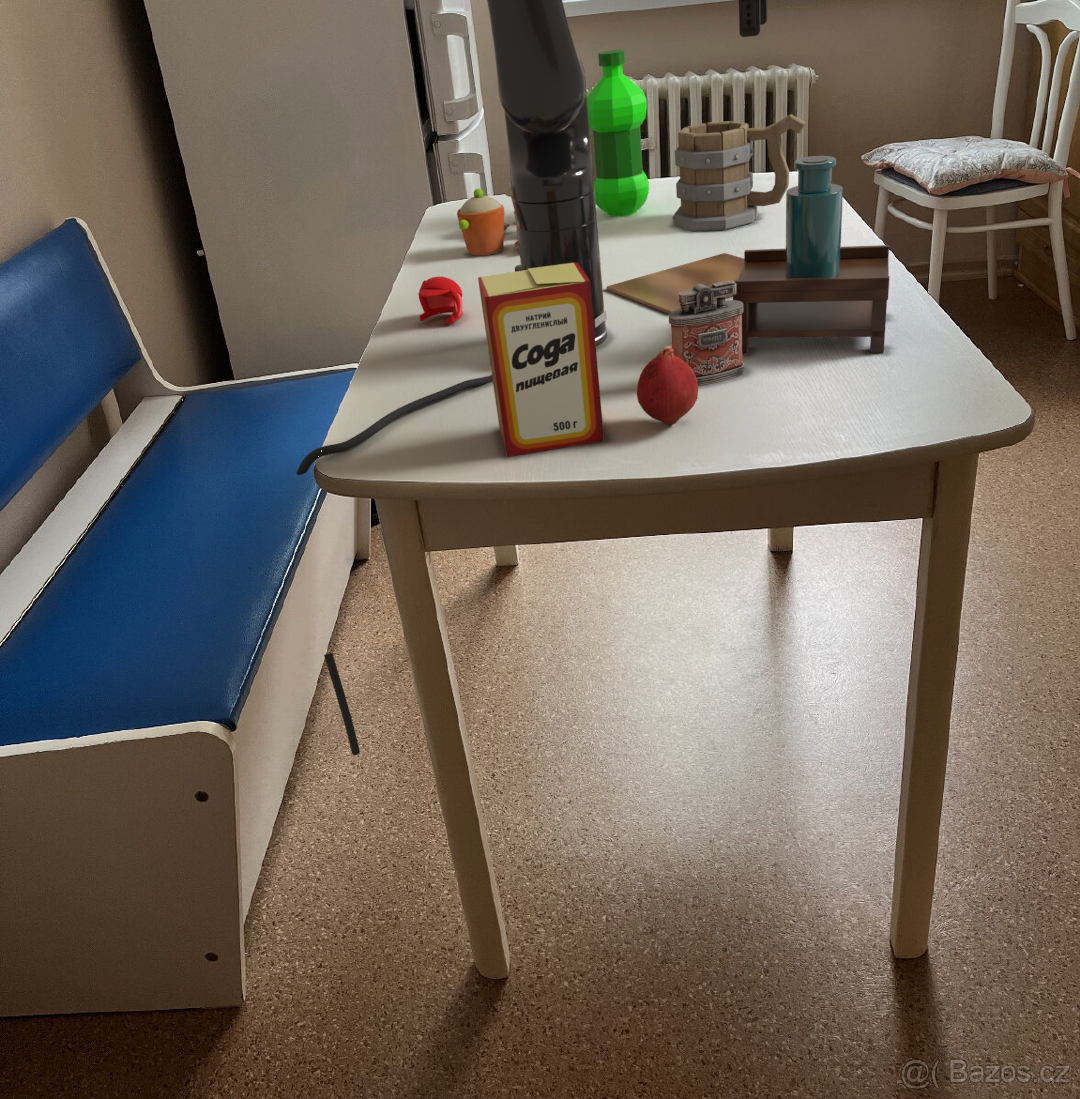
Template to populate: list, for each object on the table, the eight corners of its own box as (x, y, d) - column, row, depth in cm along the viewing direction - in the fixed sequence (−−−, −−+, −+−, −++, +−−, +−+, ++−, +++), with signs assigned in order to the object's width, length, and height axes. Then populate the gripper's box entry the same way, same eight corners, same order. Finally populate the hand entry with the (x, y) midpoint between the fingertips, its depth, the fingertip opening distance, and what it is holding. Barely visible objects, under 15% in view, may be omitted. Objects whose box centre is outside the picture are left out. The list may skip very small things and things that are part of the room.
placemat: (670, 315, 128) (670, 311, 128) (606, 289, 140) (606, 286, 140) (795, 277, 136) (795, 273, 135) (724, 256, 147) (724, 252, 147)
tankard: (668, 232, 162) (664, 131, 154) (683, 211, 172) (679, 115, 164) (799, 228, 156) (801, 122, 148) (806, 207, 166) (808, 107, 158)
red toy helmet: (425, 313, 140) (417, 269, 137) (468, 309, 139) (461, 265, 136) (416, 333, 133) (408, 287, 130) (461, 329, 133) (454, 283, 129)
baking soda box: (507, 456, 99) (484, 293, 90) (499, 429, 104) (477, 273, 96) (604, 440, 99) (589, 277, 91) (591, 414, 105) (577, 258, 97)
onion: (651, 442, 98) (646, 362, 94) (631, 420, 103) (625, 343, 99) (708, 429, 99) (706, 350, 95) (685, 408, 104) (682, 331, 100)
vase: (810, 285, 110) (812, 168, 104) (774, 274, 115) (775, 161, 109) (851, 272, 112) (856, 157, 106) (814, 262, 117) (817, 151, 111)
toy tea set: (561, 252, 159) (555, 187, 154) (461, 264, 159) (452, 200, 154) (553, 213, 181) (547, 155, 176) (466, 223, 182) (457, 166, 177)
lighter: (679, 390, 108) (675, 297, 103) (666, 379, 110) (662, 288, 105) (749, 374, 109) (749, 281, 104) (735, 364, 112) (734, 273, 107)
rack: (733, 354, 115) (732, 281, 111) (745, 317, 124) (744, 249, 120) (884, 353, 110) (889, 277, 106) (884, 315, 120) (889, 244, 116)
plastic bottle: (586, 211, 180) (572, 54, 167) (644, 202, 181) (635, 45, 168) (599, 224, 171) (585, 59, 158) (660, 214, 172) (652, 49, 159)
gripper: (724, -136, 115) (728, 25, 124) (706, -133, 104) (712, 43, 113) (792, -146, 113) (792, 18, 122) (782, -145, 102) (782, 36, 110)
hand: (753, 30), depth 117 cm, fingers open, 8 cm apart
